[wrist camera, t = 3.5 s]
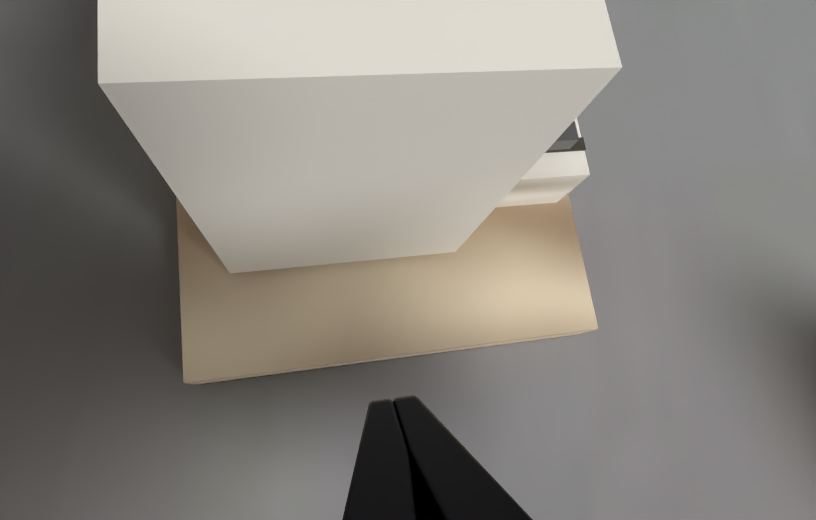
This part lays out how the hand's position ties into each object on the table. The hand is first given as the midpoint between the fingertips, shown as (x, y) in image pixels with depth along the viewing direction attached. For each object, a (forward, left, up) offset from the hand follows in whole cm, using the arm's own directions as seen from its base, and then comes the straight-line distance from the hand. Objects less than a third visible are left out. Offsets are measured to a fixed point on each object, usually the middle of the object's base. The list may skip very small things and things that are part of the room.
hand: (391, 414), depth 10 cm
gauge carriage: (+8, +3, -6) cm, 10 cm away
